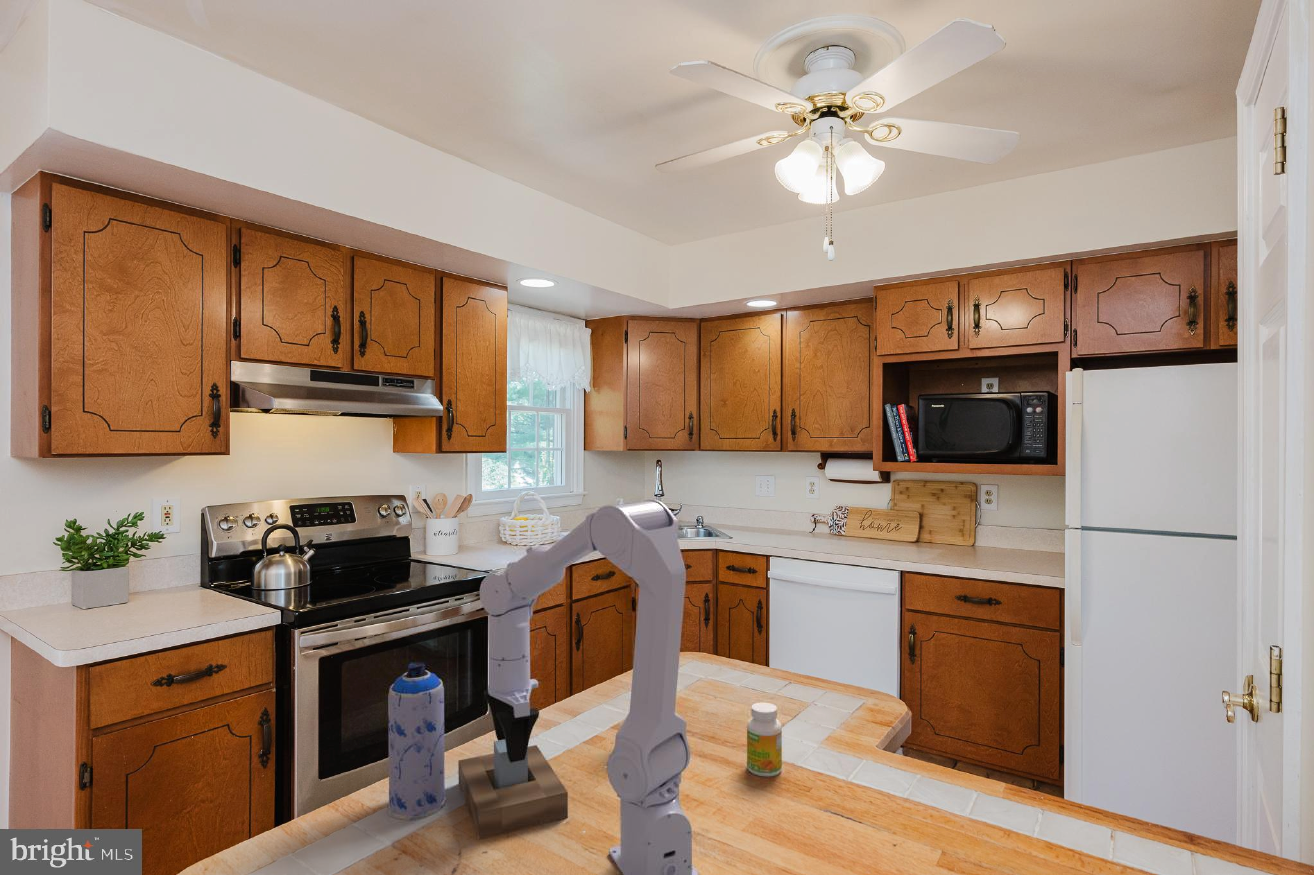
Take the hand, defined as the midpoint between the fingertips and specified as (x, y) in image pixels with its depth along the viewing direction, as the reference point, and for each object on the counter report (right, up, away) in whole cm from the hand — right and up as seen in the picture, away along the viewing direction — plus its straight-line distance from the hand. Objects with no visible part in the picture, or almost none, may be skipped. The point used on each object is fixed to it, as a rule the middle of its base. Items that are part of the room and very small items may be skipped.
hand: (510, 749), depth 101 cm
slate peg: (0, -7, 0) cm, 7 cm away
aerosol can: (-13, -8, -1) cm, 15 cm away
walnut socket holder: (0, -7, 0) cm, 7 cm away
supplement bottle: (+38, -7, +9) cm, 40 cm away
